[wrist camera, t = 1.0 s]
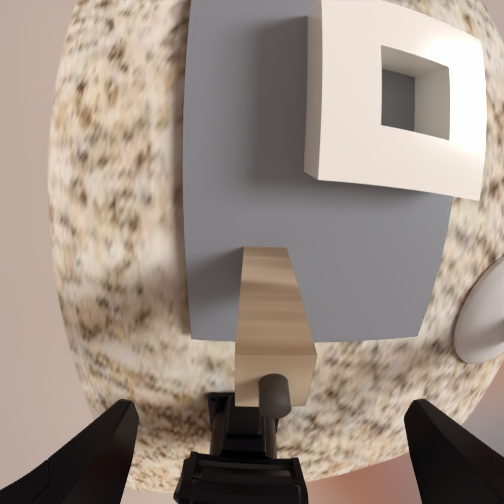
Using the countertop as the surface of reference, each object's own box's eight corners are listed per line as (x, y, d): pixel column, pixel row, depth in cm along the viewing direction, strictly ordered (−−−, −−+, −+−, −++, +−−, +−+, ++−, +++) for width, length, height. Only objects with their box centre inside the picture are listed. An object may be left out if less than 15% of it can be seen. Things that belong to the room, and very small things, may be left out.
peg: (283, 285, 19) (309, 430, 9) (243, 284, 19) (233, 430, 9) (286, 247, 18) (323, 381, 8) (244, 246, 18) (232, 381, 8)
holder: (443, 187, 17) (479, 201, 13) (303, 171, 17) (317, 179, 13) (446, 51, 13) (480, 40, 9) (307, 15, 13) (320, -14, 9)
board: (412, 329, 22) (417, 336, 21) (193, 331, 22) (191, 338, 21) (447, 36, 13) (454, 33, 12) (195, -4, 13) (192, -11, 12)
